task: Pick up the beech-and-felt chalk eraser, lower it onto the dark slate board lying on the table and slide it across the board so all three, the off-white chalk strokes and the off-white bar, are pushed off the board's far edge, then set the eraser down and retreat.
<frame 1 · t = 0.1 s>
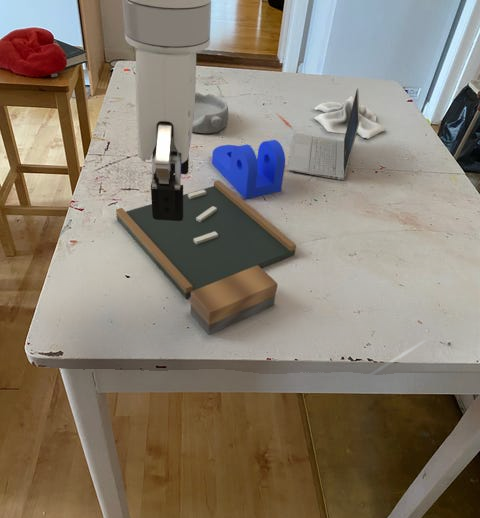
hand: (171, 194, 54), 21 cm above the table, tool pointing down, fingers open, 9 cm apart
dish: (199, 123, 116), on the table
slate board: (204, 237, 84), on the table
cloth: (348, 120, 125), on the table
laptop: (317, 158, 108), on the table
off-white bar 3: (197, 195, 91), point 1 cm above the table, touching slate board
eraser: (232, 309, 72), on the table
bracket: (241, 174, 100), on the table
chalk stroke 1: (205, 239, 81), point 1 cm above the table, touching slate board
chalk stroke 2: (206, 215, 86), point 1 cm above the table, touching slate board
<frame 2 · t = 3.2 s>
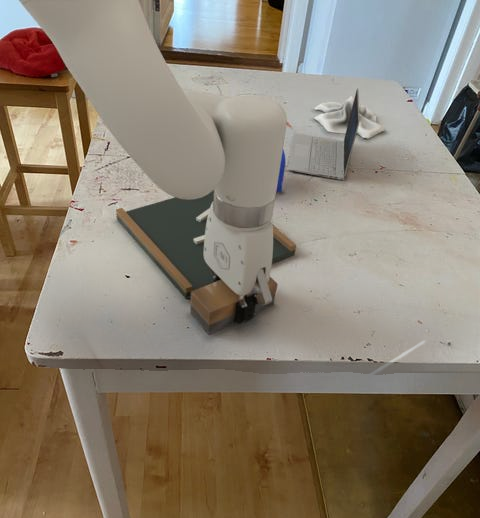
hand: (233, 307, 71), 0 cm above the table, tool pointing down, fingers closed on eraser, 5 cm apart
eraser: (232, 309, 72), on the table, touching gripper
everything else where it was.
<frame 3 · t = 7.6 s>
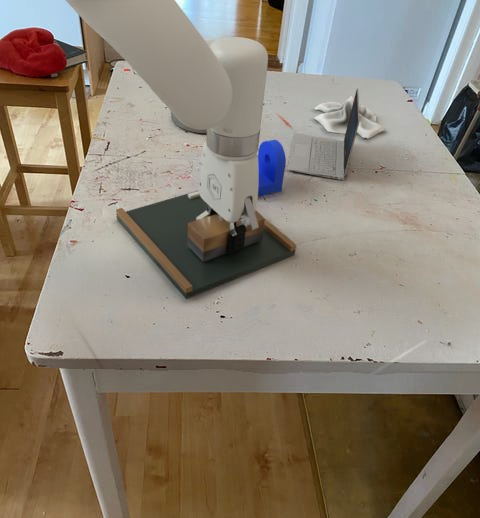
hand: (225, 240, 80), 2 cm above the table, tool pointing down, fingers closed on eraser, 5 cm apart
eraser: (225, 242, 80), point 2 cm above the table, touching chalk stroke 1, gripper
chalk stroke 1: (205, 238, 81), point 1 cm above the table, touching eraser, gripper, slate board
everything else where it was.
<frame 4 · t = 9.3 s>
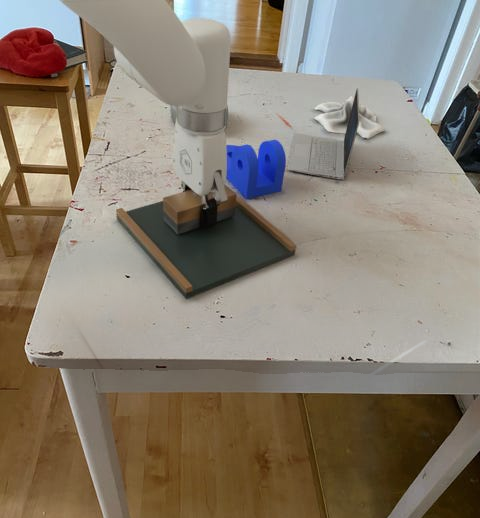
hand: (199, 215, 85), 2 cm above the table, tool pointing down, fingers closed on eraser, 5 cm apart
eraser: (199, 217, 85), point 2 cm above the table, touching chalk stroke 1, gripper
chalk stroke 1: (182, 213, 86), point 1 cm above the table, touching chalk stroke 2, eraser, gripper
chalk stroke 2: (198, 206, 88), point 1 cm above the table, touching chalk stroke 1, slate board
everything else where it was.
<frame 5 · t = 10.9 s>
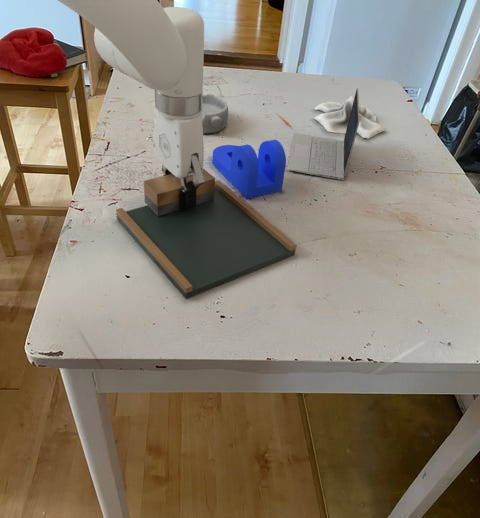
hand: (179, 199, 88), 2 cm above the table, tool pointing down, fingers closed on eraser, 5 cm apart
off-white bar 3: (193, 192, 92), point 1 cm above the table, tilted 102°, touching chalk stroke 2
eraser: (180, 201, 88), point 1 cm above the table, touching chalk stroke 2, gripper
chalk stroke 1: (165, 204, 90), on the table
chalk stroke 2: (182, 191, 92), point 1 cm above the table, tilted 23°, touching off-white bar 3, eraser
everything else where it was.
when the fingers open (1 cm above the table, at t = 13.6 s): eraser stays where it is, on the table.
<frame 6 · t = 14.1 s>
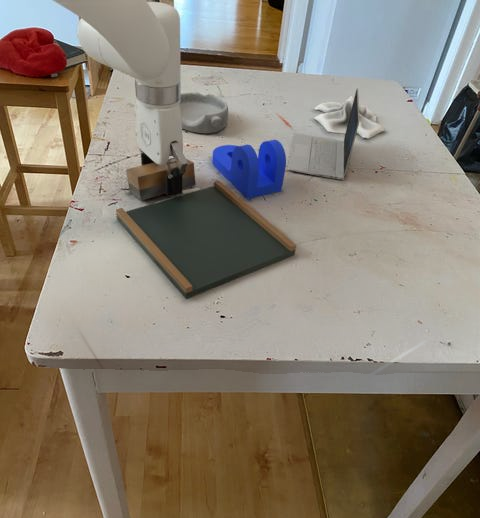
hand: (161, 182, 92), 2 cm above the table, tool pointing down, fingers open, 9 cm apart
off-white bar 3: (191, 190, 93), point 1 cm above the table, tilted 180°
eraser: (163, 188, 93), on the table, tilted 10°
chalk stroke 2: (178, 188, 93), point 1 cm above the table, tilted 180°
everything else where it was.
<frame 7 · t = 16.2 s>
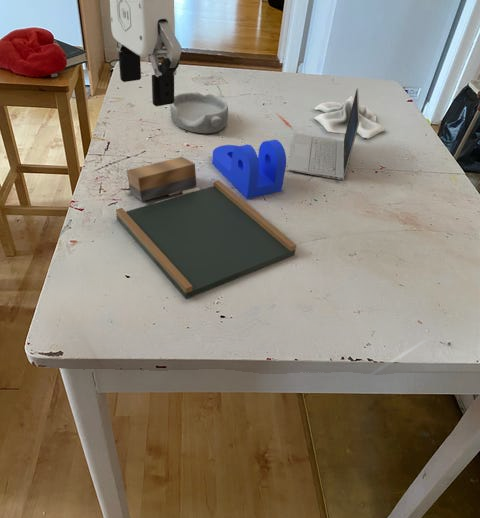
hand: (146, 91, 69), 23 cm above the table, tool pointing down, fingers open, 9 cm apart
eraser: (163, 189, 93), on the table, tilted 10°
everything else where it was.
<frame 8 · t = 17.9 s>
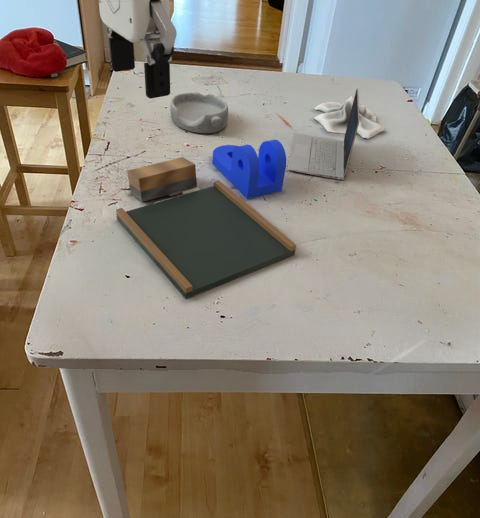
hand: (140, 82, 62), 26 cm above the table, tool pointing down, fingers open, 9 cm apart
eraser: (164, 189, 92), on the table, tilted 9°, touching chalk stroke 2
chalk stroke 2: (179, 189, 93), point 1 cm above the table, tilted 180°, touching eraser
everything else where it was.
at the end: chalk stroke 1 touching table; chalk stroke 2 touching eraser, table; off-white bar 3 touching table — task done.
